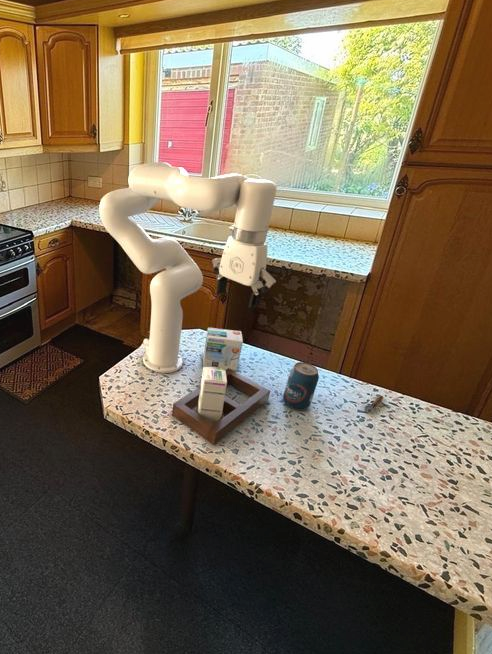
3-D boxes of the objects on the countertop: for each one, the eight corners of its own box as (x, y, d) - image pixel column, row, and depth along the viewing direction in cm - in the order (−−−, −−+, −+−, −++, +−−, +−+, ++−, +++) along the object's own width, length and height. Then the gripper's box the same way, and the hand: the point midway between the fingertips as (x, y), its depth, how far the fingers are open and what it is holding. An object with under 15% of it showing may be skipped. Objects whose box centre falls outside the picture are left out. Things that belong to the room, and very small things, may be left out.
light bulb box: (202, 366, 127) (207, 337, 122) (202, 354, 132) (207, 326, 127) (237, 371, 124) (243, 342, 119) (236, 359, 130) (241, 330, 125)
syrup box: (220, 427, 103) (228, 382, 96) (196, 423, 104) (203, 379, 97) (218, 412, 108) (226, 368, 101) (196, 409, 109) (203, 365, 102)
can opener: (378, 397, 113) (379, 394, 113) (387, 402, 111) (388, 399, 111) (361, 409, 109) (362, 406, 108) (370, 414, 107) (371, 411, 107)
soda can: (277, 402, 111) (287, 367, 106) (289, 392, 115) (298, 357, 110) (302, 415, 107) (314, 379, 101) (313, 404, 111) (325, 369, 105)
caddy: (171, 415, 107) (173, 403, 105) (226, 378, 121) (228, 368, 119) (213, 445, 97) (216, 433, 96) (267, 402, 112) (270, 390, 110)
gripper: (209, 228, 97) (200, 291, 105) (273, 248, 85) (258, 317, 93) (228, 223, 101) (218, 284, 109) (292, 241, 89) (275, 308, 97)
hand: (236, 299), depth 101 cm, fingers open, 9 cm apart
